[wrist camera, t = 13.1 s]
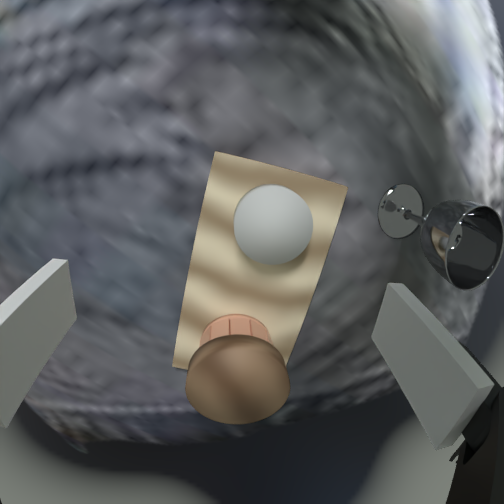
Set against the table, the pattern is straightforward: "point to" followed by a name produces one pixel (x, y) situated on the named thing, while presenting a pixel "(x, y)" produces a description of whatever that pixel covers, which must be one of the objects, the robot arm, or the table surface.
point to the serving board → (246, 269)
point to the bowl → (235, 328)
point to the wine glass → (447, 234)
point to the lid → (237, 379)
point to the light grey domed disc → (272, 224)
